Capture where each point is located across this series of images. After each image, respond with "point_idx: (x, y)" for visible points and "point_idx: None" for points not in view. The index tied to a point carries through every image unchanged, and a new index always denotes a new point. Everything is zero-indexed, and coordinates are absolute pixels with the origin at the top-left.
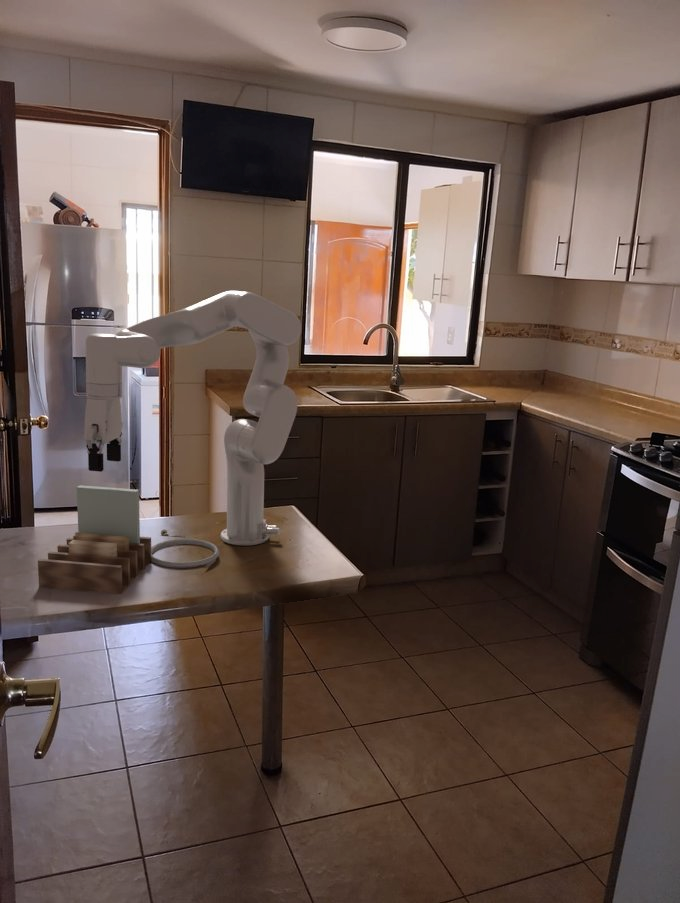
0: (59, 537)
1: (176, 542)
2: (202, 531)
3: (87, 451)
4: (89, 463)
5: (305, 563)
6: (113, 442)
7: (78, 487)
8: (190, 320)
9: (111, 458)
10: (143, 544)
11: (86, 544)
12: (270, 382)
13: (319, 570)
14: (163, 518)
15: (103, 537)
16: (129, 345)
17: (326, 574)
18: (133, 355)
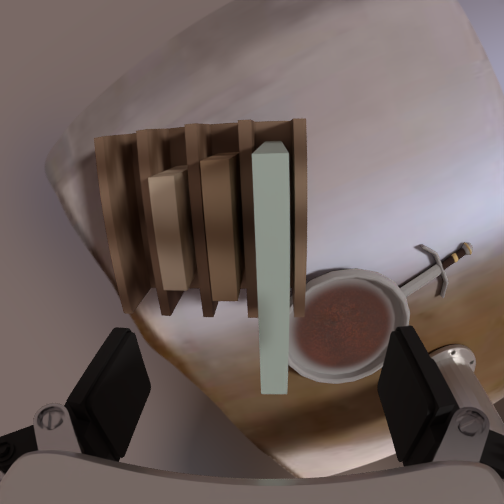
0: (412, 34)
1: (400, 302)
2: (474, 307)
3: (37, 412)
4: (100, 356)
5: (339, 450)
6: (424, 454)
7: (252, 163)
8: None
9: (391, 360)
10: (254, 317)
11: (155, 225)
12: None
13: (318, 462)
14: None
15: (214, 244)
16: None
17: (306, 467)
18: None
